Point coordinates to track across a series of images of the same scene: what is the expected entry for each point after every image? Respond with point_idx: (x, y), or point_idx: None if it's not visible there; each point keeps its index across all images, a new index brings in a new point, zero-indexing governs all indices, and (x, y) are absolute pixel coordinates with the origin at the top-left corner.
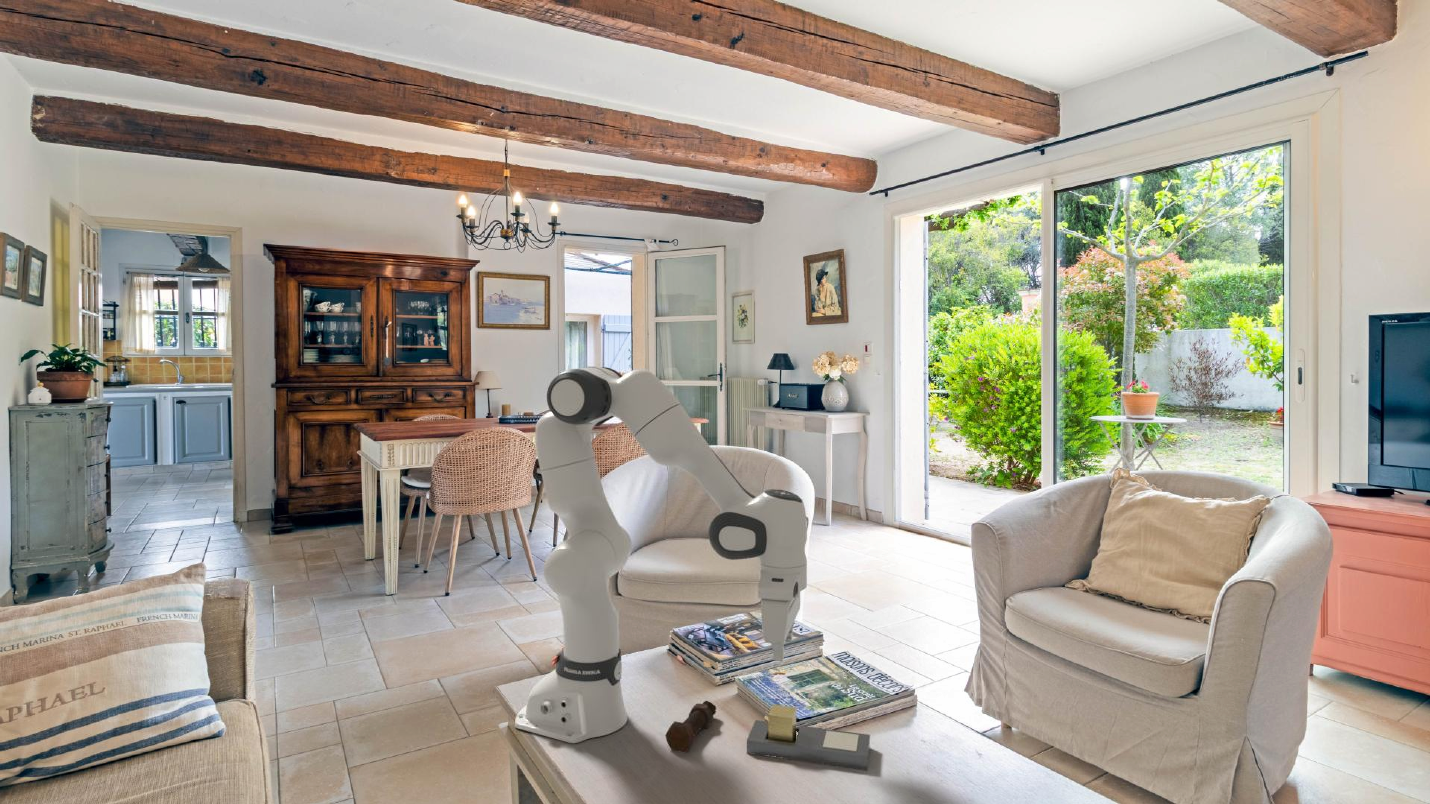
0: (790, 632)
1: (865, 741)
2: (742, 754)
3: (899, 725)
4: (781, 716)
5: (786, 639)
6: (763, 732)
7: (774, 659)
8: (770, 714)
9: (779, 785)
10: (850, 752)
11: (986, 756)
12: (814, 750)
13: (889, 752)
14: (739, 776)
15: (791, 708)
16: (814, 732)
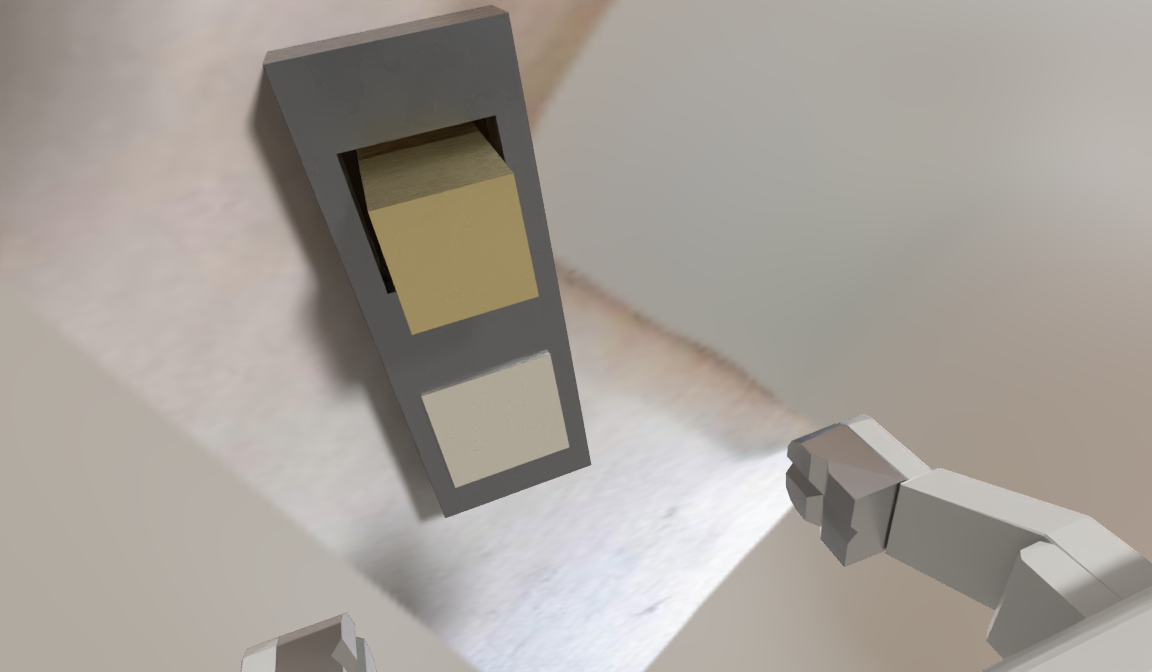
0: (865, 552)
1: (540, 474)
2: (243, 33)
3: (736, 440)
4: (397, 281)
5: (806, 474)
6: (400, 116)
7: (252, 654)
8: (384, 218)
9: (120, 312)
10: (441, 474)
11: (644, 620)
12: (387, 374)
13: (573, 482)
14: (25, 117)
15: (512, 284)
16: (521, 318)
